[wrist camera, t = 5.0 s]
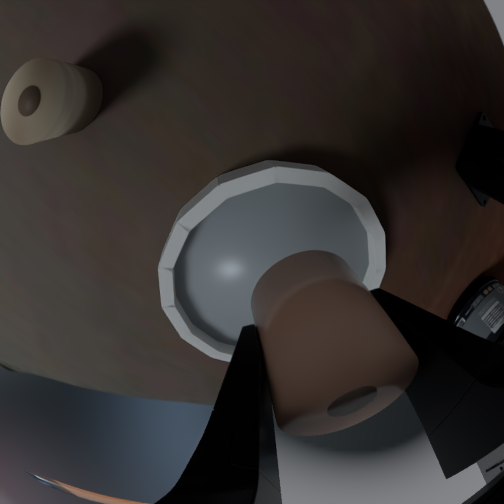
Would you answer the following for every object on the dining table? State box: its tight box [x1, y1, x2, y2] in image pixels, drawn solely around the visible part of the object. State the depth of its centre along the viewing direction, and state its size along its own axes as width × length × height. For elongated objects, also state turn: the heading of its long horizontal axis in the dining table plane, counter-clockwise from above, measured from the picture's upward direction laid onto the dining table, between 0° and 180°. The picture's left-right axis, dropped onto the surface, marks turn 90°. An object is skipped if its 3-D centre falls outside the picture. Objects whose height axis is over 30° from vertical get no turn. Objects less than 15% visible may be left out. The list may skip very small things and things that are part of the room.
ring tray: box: [158, 160, 386, 362], centre depth 17 cm, size 14×14×2 cm
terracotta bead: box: [251, 250, 419, 436], centre depth 8 cm, size 4×4×4 cm
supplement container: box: [447, 276, 504, 346], centre depth 20 cm, size 10×10×12 cm
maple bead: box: [1, 57, 103, 145], centre depth 9 cm, size 4×4×5 cm
